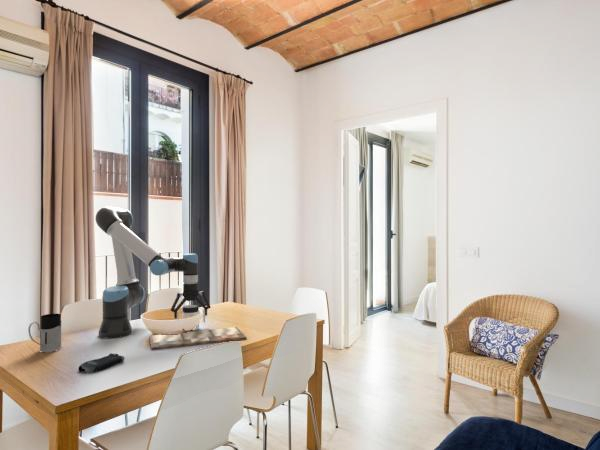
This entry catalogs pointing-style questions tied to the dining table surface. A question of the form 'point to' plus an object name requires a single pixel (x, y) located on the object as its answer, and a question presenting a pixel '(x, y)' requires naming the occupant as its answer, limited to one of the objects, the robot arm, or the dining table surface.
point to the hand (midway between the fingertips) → (190, 323)
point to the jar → (190, 312)
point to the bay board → (196, 338)
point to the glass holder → (49, 332)
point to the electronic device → (101, 363)
